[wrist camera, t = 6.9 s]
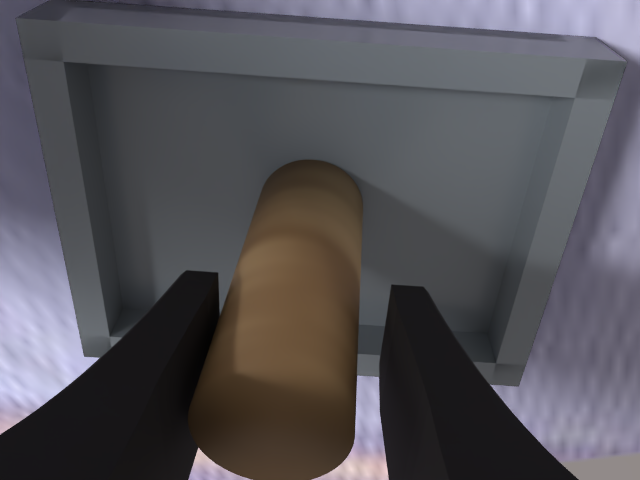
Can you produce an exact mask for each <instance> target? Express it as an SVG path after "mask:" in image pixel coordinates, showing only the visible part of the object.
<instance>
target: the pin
mask: <svg viewBox="0 0 640 480" xmlns="http://www.w3.org/2000/svg"><path fill="white" fill-rule="evenodd" d="M362 223H363V201H362V196H361V193H360V191H359V188H358V186H357V185H356V183H355V182H354V180H353V179H352V178H351V177H350V176H349V175H348V174H347V173H346V172H344V171H343V170H342V169H340V168H339V167H337V166H335V165H333V164H330V163H327V162H324V161H320V160H298V161H294V162H291V163H288V164H285V165H284V166H282V167H280V168H278V169H277V170H276V171H274V172H273V173H272V174H271V175H270V176H269V178H268V179H267V180H266V182H265V184H264V186H263V188H262V191H261V194H260V197H259V200H258V203H257V206H256V209H255V212H254V215H253V218H252V221H251V224H250V227H249V230H248V233H247V236H246V239H245V242H244V245H243V248H242V251H241V254H240V257H239V260H238V263H237V266H236V269H235V272H234V275H233V278H232V281H231V284H230V287H229V290H228V293H227V296H226V299H225V302H224V305H223V308H222V311H221V314H220V317H219V320H218V323H217V326H216V329H215V332H214V335H213V338H212V341H211V344H210V347H209V350H208V353H207V356H206V359H205V362H204V365H203V368H202V371H201V374H200V377H199V380H198V383H197V386H196V389H195V392H194V395H193V398H192V401H191V404H190V407H189V412H188V425H189V430H190V433H191V435H192V438H193V439H194V441H195V443H196V444H197V446H198V447H199V448H200V449H201V451H202V452H203V453H204V454H205V455H206V456H207V457H208V458H210V459H211V460H212V461H213V462H215V463H216V464H218V465H219V466H221V467H223V468H224V469H226V470H228V471H230V472H232V473H235V474H237V475H240V476H242V477H246V478H249V479H253V480H311V479H314V478H317V477H320V476H322V475H324V474H327V473H329V472H330V471H332V470H334V469H335V468H336V467H338V466H339V465H340V464H341V463H342V462H343V461H344V460H345V459H346V458H347V456H348V455H349V453H350V452H351V449H352V447H353V444H354V439H355V416H356V388H357V361H358V333H359V306H360V278H361V251H362Z"/></svg>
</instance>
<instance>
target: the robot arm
mask: <svg viewBox="0 0 640 480" xmlns="http://www.w3.org/2000/svg"><path fill="white" fill-rule="evenodd" d="M219 317H220V306H219V279H218V272H206V271H191V270H186V271H185V272H183V273H182V274H181V275H180V276H179V277H178V278H177V279H176V281H175V282H174V283H173V284H172V285H171V286H170V287H169V289H168V290H167V291H166V292H165V293H164V294H163V295H162V296H161V297H160V299H159V300H158V301H157V302H156V303H155V304H154V305H153V306H152V307H151V308H150V309H149V311H148V312H147V313H146V314H145V315H144V316H143V317H142V318H141V319H140V320H139V321H138V322H137V323H136V324H135V325H134V326H133V327H132V328H131V329H130V330H129V331H128V332H127V333H126V334H125V335H124V336H123V337H122V338H121V339H120V340H119V341H118V342H117V343H116V344H115V345H114V346H113V347H112V348H110V349H109V350H108V351H107V352H106V353H105V354H104V355H103V356H102V357H101V358H99V359H98V360H97V361H96V362H95V363H94V364H93V365H92V366H91V367H90V368H88V369H87V370H86V371H85V372H84V373H83V374H82V375H80V376H79V377H78V378H77V379H76V380H74V381H73V382H72V383H71V384H70V385H68V386H67V387H66V388H65V389H63V390H62V391H61V392H60V393H58V394H57V395H56V396H54V397H53V398H52V399H50V400H49V401H48V402H47V403H45V404H44V405H43V406H41V407H40V408H39V409H37V410H36V411H35V412H33V413H32V414H30V415H29V416H27V417H26V418H25V419H23V420H22V421H20V422H19V423H17V424H16V425H14V426H13V427H11V428H10V429H8V430H7V431H5V432H4V433H2V434H1V435H0V480H188V479H189V475H190V472H191V469H192V466H193V463H194V459H195V456H196V453H197V450H198V446H197V444H196V443H195V441H194V439H193V438H192V435H191V433H190V430H189V425H188V412H189V407H190V404H191V401H192V398H193V395H194V392H195V389H196V386H197V383H198V380H199V377H200V374H201V371H202V368H203V365H204V362H205V359H206V356H207V353H208V350H209V347H210V344H211V341H212V338H213V335H214V332H215V329H216V326H217V323H218V320H219ZM379 391H380V415H381V423H382V431H383V439H384V446H385V453H386V461H387V468H388V475H389V480H578V479H577V478H576V477H575V476H574V475H573V474H572V473H571V472H569V471H568V470H567V469H566V468H565V467H564V466H563V465H562V464H561V463H560V462H559V461H558V460H557V459H556V458H554V457H553V456H552V455H551V454H550V453H549V452H548V451H547V450H546V449H545V448H544V447H543V446H542V445H541V443H540V442H539V441H538V440H537V439H536V438H535V437H534V436H533V435H532V434H531V433H530V432H529V431H528V430H527V429H526V427H525V426H524V425H523V424H522V423H521V422H520V421H519V420H518V418H517V417H516V416H515V415H514V414H513V413H512V411H511V410H510V409H509V408H508V407H507V406H506V404H505V403H504V402H503V401H502V399H501V398H500V397H499V396H498V394H497V393H496V392H495V391H494V389H493V388H492V387H491V386H490V384H489V383H488V382H487V381H486V379H485V378H484V377H483V375H482V374H481V373H480V371H479V370H478V369H477V367H476V366H475V364H474V363H473V361H472V360H471V359H470V357H469V356H468V354H467V353H466V352H465V350H464V349H463V347H462V346H461V344H460V343H459V341H458V340H457V338H456V337H455V335H454V334H453V332H452V331H451V329H450V328H449V326H448V324H447V323H446V321H445V320H444V318H443V316H442V315H441V313H440V311H439V310H438V308H437V306H436V305H435V303H434V301H433V300H432V298H431V296H430V294H429V292H428V291H427V290H426V289H425V288H424V287H422V286H407V285H393V284H391V290H390V297H389V303H388V310H387V316H386V322H385V329H384V335H383V342H382V348H381V355H380V361H379Z"/></svg>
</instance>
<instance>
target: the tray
mask: <svg viewBox="0 0 640 480" xmlns="http://www.w3.org/2000/svg"><path fill="white" fill-rule="evenodd" d="M16 23H17V28H18V33H19V38H20V42H21V47H22V52H23V57H24V62H25V67H26V72H27V77H28V82H29V87H30V92H31V97H32V102H33V107H34V112H35V117H36V121H37V126H38V131H39V136H40V141H41V146H42V151H43V156H44V161H45V166H46V171H47V176H48V181H49V186H50V191H51V196H52V200H53V205H54V210H55V215H56V220H57V225H58V230H59V235H60V240H61V245H62V250H63V255H64V260H65V265H66V270H67V274H68V279H69V284H70V289H71V294H72V299H73V304H74V309H75V314H76V319H77V324H78V329H79V334H80V339H81V344H82V349H83V353H84V357H98V358H101V357H102V356H103V355H104V354H105V353H106V352H107V351H108V350H109V349H110V348H112V347H113V346H114V345H115V344H116V343H117V342H118V341H119V340H120V339H121V338H122V337H123V336H124V335H125V334H126V333H127V332H128V331H129V330H130V329H131V328H132V327H133V326H134V325H135V324H136V323H137V322H138V321H139V320H140V319H141V318H142V317H143V316H144V315H145V314H146V313H147V312H148V311H149V309H150V308H151V307H152V306H153V305H154V304H155V303H156V302H157V301H158V300H159V299H160V297H161V296H162V295H163V294H164V293H165V292H166V291H167V290H168V289H169V287H170V286H171V285H172V284H173V283H174V282H175V281H176V279H177V278H178V277H179V276H180V275H181V274H182V273H183V272H185V271H186V270H191V271H206V272H218V279H219V306H220V314H221V311H222V308H223V305H224V302H225V299H226V296H227V293H228V290H229V287H230V284H231V281H232V278H233V275H234V272H235V269H236V266H237V263H238V260H239V257H240V254H241V251H242V248H243V245H244V242H245V239H246V236H247V233H248V230H249V227H250V224H251V221H252V218H253V215H254V212H255V209H256V206H257V203H258V200H259V197H260V194H261V191H262V188H263V186H264V184H265V182H266V180H267V179H268V178H269V176H270V175H271V174H272V173H273V172H274V171H276V170H277V169H278V168H280V167H282V166H284V165H285V164H288V163H291V162H294V161H298V160H320V161H324V162H327V163H330V164H333V165H335V166H337V167H339V168H340V169H342V170H343V171H344V172H346V173H347V174H348V175H349V176H350V177H351V178H352V179H353V180H354V182H355V183H356V185H357V186H358V188H359V191H360V193H361V196H362V201H363V223H362V251H361V278H360V306H359V333H358V361H357V375H360V376H375V377H379V361H380V355H381V348H382V342H383V335H384V329H385V322H386V316H387V310H388V303H389V297H390V290H391V284H393V285H407V286H422V287H424V288H425V289H426V290H427V291H428V292H429V294H430V296H431V298H432V300H433V301H434V303H435V305H436V306H437V308H438V310H439V311H440V313H441V315H442V316H443V318H444V320H445V321H446V323H447V324H448V326H449V328H450V329H451V331H452V332H453V334H454V335H455V337H456V338H457V340H458V341H459V343H460V344H461V346H462V347H463V349H464V350H465V352H466V353H467V354H468V356H469V357H470V359H471V360H472V361H473V363H474V364H475V366H476V367H477V369H478V370H479V371H480V373H481V374H482V375H483V377H484V378H485V379H486V381H487V382H488V383H489V384H491V385H506V386H519V384H520V381H521V378H522V375H523V372H524V369H525V366H526V363H527V360H528V357H529V354H530V351H531V348H532V345H533V342H534V339H535V336H536V333H537V330H538V327H539V324H540V321H541V318H542V315H543V312H544V309H545V306H546V303H547V300H548V297H549V294H550V291H551V288H552V285H553V282H554V279H555V276H556V273H557V270H558V267H559V264H560V261H561V258H562V255H563V252H564V249H565V246H566V243H567V240H568V237H569V235H570V232H571V229H572V226H573V223H574V220H575V217H576V214H577V211H578V208H579V205H580V202H581V199H582V196H583V193H584V190H585V187H586V184H587V181H588V178H589V175H590V172H591V169H592V166H593V163H594V160H595V157H596V154H597V151H598V148H599V145H600V142H601V139H602V136H603V133H604V130H605V127H606V124H607V121H608V118H609V115H610V112H611V109H612V106H613V103H614V100H615V97H616V94H617V91H618V88H619V85H620V82H621V79H622V76H623V73H624V70H625V67H626V64H627V61H626V60H625V59H623V58H622V57H621V56H620V55H618V54H617V53H616V52H614V51H613V50H612V49H610V48H609V47H608V46H606V45H605V44H604V43H603V42H601V41H600V40H599V39H597V38H596V37H584V36H570V35H556V34H542V33H528V32H514V31H500V30H486V29H472V28H458V27H444V26H429V25H415V24H401V23H387V22H373V21H359V20H345V19H331V18H317V17H303V16H289V15H275V14H261V13H247V12H233V11H219V10H205V9H191V8H177V7H163V6H148V5H134V4H120V3H106V2H92V1H78V0H49V1H47V2H45V3H43V4H41V5H40V6H38V7H36V8H34V9H32V10H30V11H28V12H26V13H24V14H22V15H20V16H19V17H17V18H16Z"/></svg>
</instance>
